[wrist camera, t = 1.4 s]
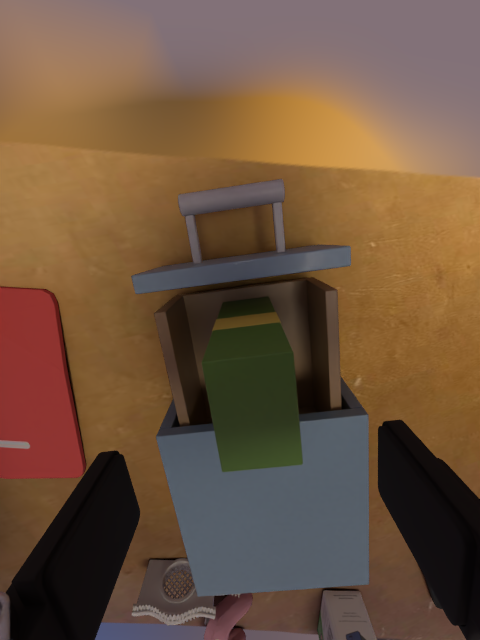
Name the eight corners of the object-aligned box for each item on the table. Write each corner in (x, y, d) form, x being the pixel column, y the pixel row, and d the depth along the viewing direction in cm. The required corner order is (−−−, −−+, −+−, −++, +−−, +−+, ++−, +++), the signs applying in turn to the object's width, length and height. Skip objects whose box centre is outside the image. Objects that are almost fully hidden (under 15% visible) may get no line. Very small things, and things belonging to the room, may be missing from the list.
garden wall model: (241, 559, 35) (240, 622, 29) (240, 569, 35) (240, 632, 30) (147, 556, 35) (128, 618, 29) (148, 566, 35) (130, 628, 30)
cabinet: (182, 377, 28) (155, 436, 19) (329, 360, 27) (368, 414, 18) (209, 503, 32) (197, 597, 24) (335, 492, 31) (369, 584, 23)
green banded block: (222, 301, 23) (200, 361, 12) (269, 295, 23) (294, 350, 11) (232, 365, 25) (221, 473, 13) (276, 360, 25) (303, 465, 13)
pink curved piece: (225, 569, 37) (195, 630, 31) (255, 590, 35) (229, 659, 29) (220, 616, 40) (190, 679, 34) (247, 637, 38) (221, 709, 32)
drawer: (150, 208, 22) (110, 194, 16) (317, 183, 22) (349, 158, 15) (194, 419, 28) (179, 474, 21) (328, 404, 27) (355, 457, 21)
